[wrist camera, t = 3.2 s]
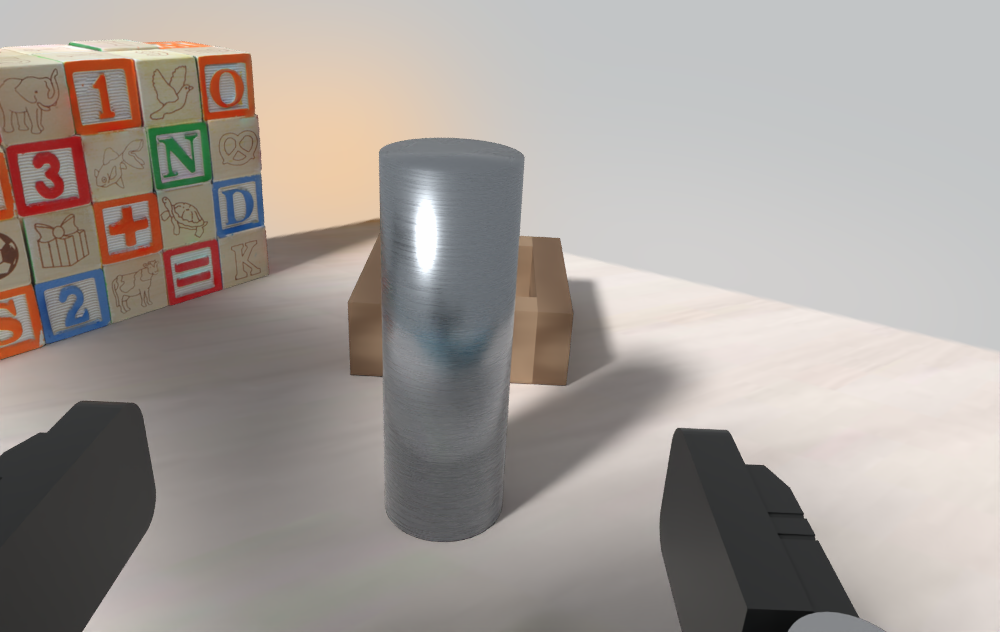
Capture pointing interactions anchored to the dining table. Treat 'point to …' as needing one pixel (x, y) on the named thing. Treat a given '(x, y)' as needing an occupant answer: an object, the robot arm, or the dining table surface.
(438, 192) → the brushed steel post
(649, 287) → the dining table surface
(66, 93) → the stack of blocks
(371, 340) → the wooden square frame
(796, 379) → the dining table surface
